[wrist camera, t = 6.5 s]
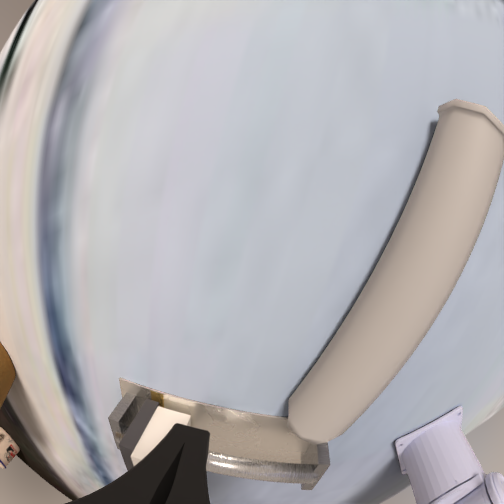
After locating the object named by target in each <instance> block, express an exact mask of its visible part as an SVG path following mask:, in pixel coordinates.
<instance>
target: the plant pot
mask: <svg viewBox="0 0 504 504" xmlns="http://www.w3.org/2000/svg"><path fill="white" fill-rule="evenodd" d="M14 379H15V369H14V366H13V364H12V361H11V359H10V357H9V355H8V353H7V352H6V350H5V348H4V347H3V345H2V344H1V343H0V408H1V406H2V404H3V402H4V400H5V398H6V396H7V394H8V392H9V390H10V388H11V386H12V384H13V381H14Z"/></svg>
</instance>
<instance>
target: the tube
mask: <svg viewBox="0 0 504 504" xmlns="http://www.w3.org/2000/svg"><path fill="white" fill-rule="evenodd" d="M437 112H438V114H439V120H438V123H437V126H436V129H435V132H434V135H433V138H432V141H431V144H430V147H429V150H428V152H427V155H426V158H425V160H424V163H423V166H422V168H421V171H420V173H419V176H418V178H417V181H416V183H415V186H414V188H413V190H412V193H411V195H410V197H409V200H408V202H407V204H406V206H405V209H404V211H403V213H402V215H401V217H400V220H399V222H398V224H397V226H396V228H395V230H394V232H393V234H392V236H391V238H390V240H389V242H388V244H387V246H386V248H385V250H384V252H383V254H382V256H381V258H380V260H379V262H378V263H377V265H376V267H375V269H374V271H373V273H372V274H371V276H370V278H369V280H368V282H367V283H366V285H365V287H364V289H363V290H362V292H361V294H360V295H359V297H358V299H357V301H356V302H355V304H354V306H353V307H352V309H351V310H350V312H349V314H348V315H347V317H346V318H345V320H344V322H343V323H342V325H341V326H340V328H339V329H338V331H337V333H336V334H335V336H334V337H333V339H332V340H331V342H330V343H329V345H328V346H327V348H326V349H325V351H324V352H323V353H322V355H321V356H320V358H319V359H318V361H317V362H316V363H315V365H314V366H313V368H312V369H311V370H310V372H309V373H308V374H307V376H306V377H305V379H304V380H303V381H302V383H301V384H300V385H299V387H298V388H297V389H296V390H295V392H294V393H293V394H292V396H291V397H290V398H289V417H288V423H287V428H288V429H289V430H291V431H292V432H293V433H294V434H295V435H296V436H297V437H299V438H300V439H302V440H304V441H306V442H308V443H311V444H313V445H317V444H321V443H325V442H328V441H330V440H332V439H334V438H336V437H338V436H340V435H342V434H343V433H344V432H345V431H346V430H347V429H348V428H349V427H350V426H351V425H352V424H353V423H354V422H355V421H356V420H357V419H358V418H359V417H360V416H361V415H362V414H363V413H364V412H365V411H366V410H367V409H368V408H369V406H370V405H371V404H372V403H373V402H374V401H375V400H376V399H377V398H378V396H379V395H380V394H381V393H382V392H383V391H384V389H385V388H386V387H387V386H388V385H389V383H390V382H391V381H392V380H393V379H394V377H395V376H396V375H397V374H398V372H399V371H400V370H401V368H402V367H403V366H404V364H405V363H406V362H407V360H408V359H409V358H410V356H411V355H412V354H413V352H414V351H415V350H416V348H417V347H418V345H419V344H420V342H421V341H422V339H423V338H424V336H425V335H426V333H427V332H428V330H429V329H430V327H431V326H432V324H433V323H434V321H435V320H436V318H437V316H438V315H439V313H440V311H441V310H442V308H443V306H444V305H445V303H446V301H447V299H448V298H449V296H450V294H451V292H452V290H453V289H454V287H455V285H456V283H457V281H458V279H459V277H460V275H461V273H462V271H463V269H464V267H465V265H466V263H467V261H468V259H469V257H470V255H471V252H472V250H473V248H474V246H475V243H476V241H477V239H478V236H479V234H480V231H481V229H482V226H483V224H484V221H485V218H486V216H487V213H488V210H489V207H490V205H491V202H492V199H493V195H494V192H495V189H496V186H497V182H498V179H499V175H500V172H501V168H502V164H503V160H504V125H503V124H502V123H501V122H500V121H499V120H498V118H497V117H496V116H495V115H494V114H493V113H492V112H491V111H490V110H489V109H488V108H487V107H486V106H482V105H479V104H475V103H471V102H467V101H463V100H458V99H454V100H452V101H450V102H447V103H445V104H443V105H441V106H439V107H438V111H437Z"/></svg>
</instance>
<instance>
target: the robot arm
mask: <svg viewBox="0 0 504 504" xmlns="http://www.w3.org/2000/svg"><path fill="white" fill-rule="evenodd" d="M462 415H463V408H462V406H459V407H457V408H456V409H454V410H452V411H451V412H449V413H447V414H446V415H444V416H442V417H440V418H439V419H437V420H435V421H433V422H431V423H430V424H428V425H426V426H424V427H422V428H420V429H418V430H416V431H414V432H412V433H410V434H408V435H406V436H403V437H401V438H399V439H397V440H396V441H395V446H396V450H397V454H398V459H399V463H400V468H401V473H402V474H403V475H404V474H408V477H409V480H410V483H411V486H412V489H413V493H414V496H415V499H416V503H417V504H504V476H503V475H502V474H501V473H499V472H495V473H494V472H491V473H489V474H488V475H487V474H485V473H484V471H483V469H482V467H481V465H480V463H479V461H478V459H477V457H476V455H475V454H474V451H473V450H472V448H471V446H470V444H469V443H468V440H467V439H466V437H465V435H464V433H463V432H462V430H461V425H462ZM209 439H210V432H208V431H207V430H203V429H198V428H194V427H190V426H187V425H183V424H179V423H176V424H174V426H173V427H172V428H171V430H170V431H169V432H168V433H167V435H166V436H165V437H164V438H163V439H162V440H161V441H160V442H159V444H158V445H157V446H156V447H155V448H154V449H153V450H152V451H151V452H150V453H149V454H148V455H147V456H145V457H144V458H143V459H142V460H141V461H140V462H139V463H137V464H136V465H135V466H134V467H133V468H131V469H130V470H129V471H128V472H126V473H125V474H123V475H122V476H121V477H119V478H118V479H116V480H115V481H113V482H112V483H110V484H108V485H106V486H105V487H103V488H101V489H99V490H97V491H95V492H93V493H91V494H89V495H87V496H84V497H82V498H79V499H77V500H74V501H71V502H68V503H65V504H210V501H209V494H208V487H207V475H206V463H207V458H208V451H209Z"/></svg>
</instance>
